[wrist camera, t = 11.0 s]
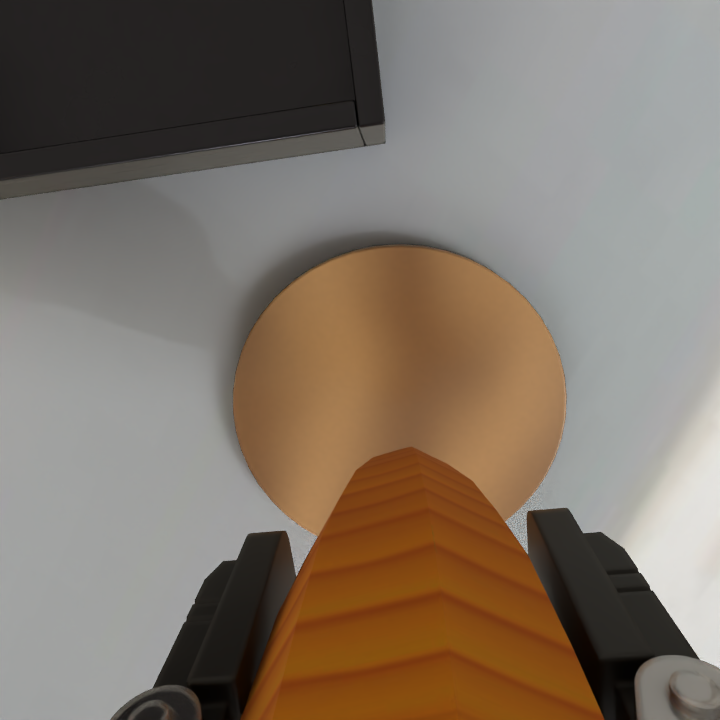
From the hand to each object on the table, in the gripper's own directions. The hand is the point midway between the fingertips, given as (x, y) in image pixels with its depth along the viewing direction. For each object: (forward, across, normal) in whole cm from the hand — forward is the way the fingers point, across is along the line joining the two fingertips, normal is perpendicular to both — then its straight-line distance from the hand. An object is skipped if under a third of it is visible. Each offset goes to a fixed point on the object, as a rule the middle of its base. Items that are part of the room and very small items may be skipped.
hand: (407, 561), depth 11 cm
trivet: (+8, 0, 0) cm, 8 cm away
